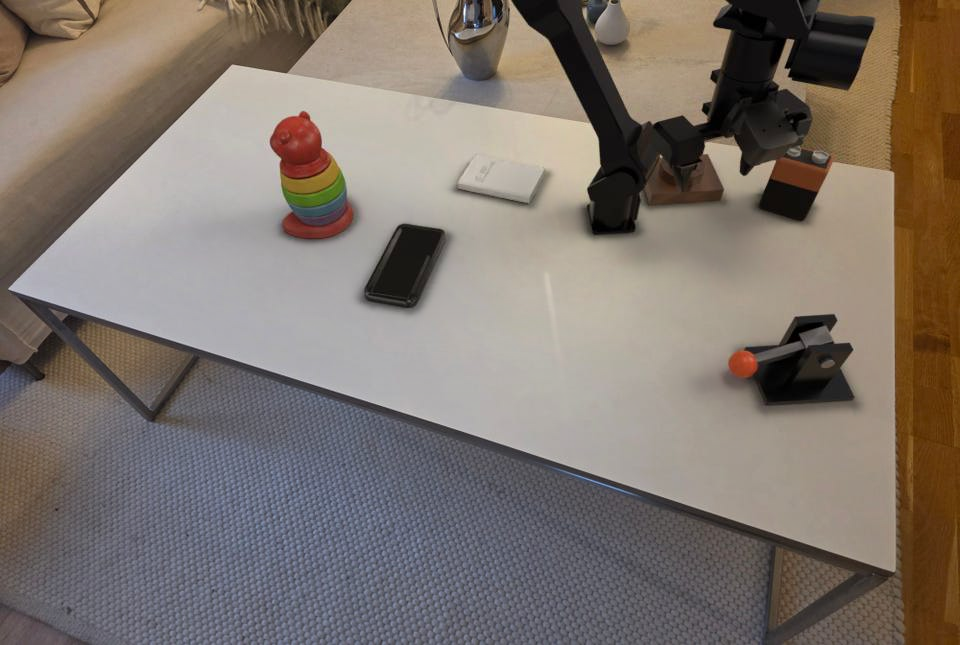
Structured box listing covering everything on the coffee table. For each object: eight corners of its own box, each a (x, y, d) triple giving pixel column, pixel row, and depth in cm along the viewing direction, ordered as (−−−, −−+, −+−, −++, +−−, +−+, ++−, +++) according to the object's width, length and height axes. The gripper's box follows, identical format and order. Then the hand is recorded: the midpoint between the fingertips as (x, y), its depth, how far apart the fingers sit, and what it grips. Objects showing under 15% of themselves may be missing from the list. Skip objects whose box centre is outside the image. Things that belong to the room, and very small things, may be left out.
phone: (361, 294, 82) (399, 222, 91) (363, 299, 83) (400, 227, 92) (414, 303, 80) (447, 229, 89) (415, 308, 81) (448, 235, 90)
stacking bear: (320, 190, 99) (286, 92, 85) (369, 206, 95) (342, 107, 81) (278, 230, 93) (234, 133, 79) (328, 249, 90) (292, 151, 76)
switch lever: (735, 386, 69) (730, 373, 67) (727, 363, 71) (722, 350, 69) (837, 357, 65) (835, 342, 63) (826, 334, 67) (823, 319, 65)
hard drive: (529, 205, 93) (457, 189, 97) (545, 174, 98) (476, 160, 101) (529, 197, 92) (457, 181, 95) (545, 166, 96) (476, 152, 100)
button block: (649, 205, 91) (653, 185, 88) (637, 169, 97) (641, 149, 94) (720, 200, 91) (727, 179, 88) (704, 165, 97) (710, 144, 93)
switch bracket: (763, 408, 68) (790, 366, 62) (742, 352, 73) (764, 307, 67) (850, 402, 68) (887, 359, 61) (823, 347, 73) (854, 301, 66)
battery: (803, 222, 87) (831, 167, 79) (756, 208, 89) (779, 153, 82) (811, 205, 89) (838, 149, 81) (765, 192, 92) (787, 136, 84)
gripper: (713, 128, 59) (680, 241, 71) (871, 86, 62) (813, 202, 74) (658, 74, 65) (636, 186, 78) (802, 39, 68) (759, 152, 81)
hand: (712, 182), depth 77 cm, fingers open, 9 cm apart
